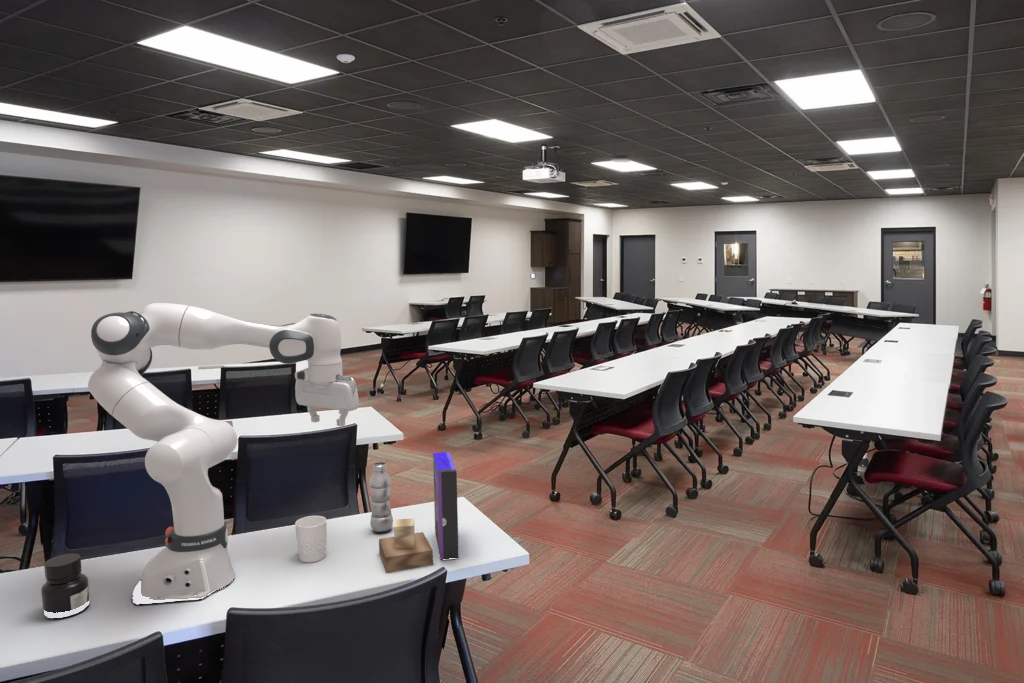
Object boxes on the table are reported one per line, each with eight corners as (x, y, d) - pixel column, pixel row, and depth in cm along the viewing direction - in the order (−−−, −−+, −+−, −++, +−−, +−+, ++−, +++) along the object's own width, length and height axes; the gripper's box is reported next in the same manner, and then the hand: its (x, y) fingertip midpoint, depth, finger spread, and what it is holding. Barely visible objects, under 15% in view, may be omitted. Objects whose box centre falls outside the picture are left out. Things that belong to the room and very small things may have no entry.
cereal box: (435, 533, 190) (432, 452, 187) (451, 532, 191) (449, 451, 188) (440, 560, 173) (438, 471, 170) (458, 558, 174) (456, 470, 171)
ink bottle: (86, 616, 148) (81, 565, 147) (38, 625, 145) (33, 573, 143) (94, 596, 157) (89, 547, 155) (49, 604, 153) (44, 554, 152)
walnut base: (386, 572, 167) (385, 557, 166) (379, 553, 178) (378, 538, 178) (433, 564, 171) (432, 550, 170) (423, 546, 182) (422, 532, 182)
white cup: (322, 548, 182) (321, 513, 180) (332, 558, 175) (330, 522, 174) (293, 555, 177) (291, 519, 176) (301, 566, 171) (299, 529, 170)
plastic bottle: (396, 526, 196) (393, 460, 194) (389, 535, 189) (387, 467, 187) (374, 525, 197) (372, 460, 194) (367, 534, 190) (364, 467, 188)
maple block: (394, 549, 171) (393, 526, 170) (395, 541, 176) (394, 519, 175) (414, 547, 172) (413, 525, 171) (414, 539, 177) (414, 518, 176)
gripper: (363, 374, 176) (365, 425, 178) (307, 369, 186) (310, 417, 188) (346, 378, 171) (348, 430, 173) (290, 372, 181) (292, 422, 183)
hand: (328, 423), depth 180 cm, fingers open, 8 cm apart
